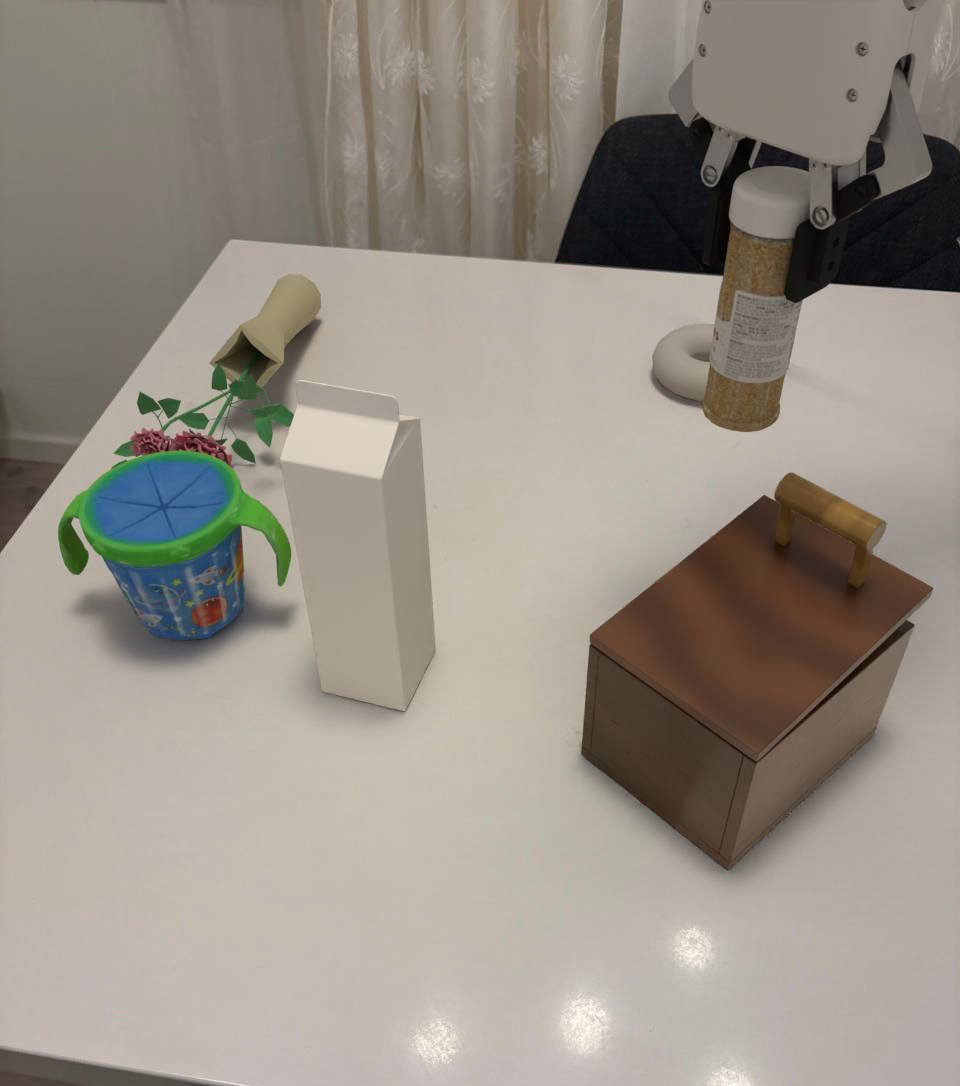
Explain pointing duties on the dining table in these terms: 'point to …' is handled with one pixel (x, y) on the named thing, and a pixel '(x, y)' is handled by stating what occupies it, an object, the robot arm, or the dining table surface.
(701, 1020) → the dining table surface
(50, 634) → the dining table surface
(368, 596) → the milk
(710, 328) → the donut
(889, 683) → the chest
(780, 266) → the sprinkles bottle
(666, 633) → the lid
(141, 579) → the snack cup
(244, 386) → the flower vase
